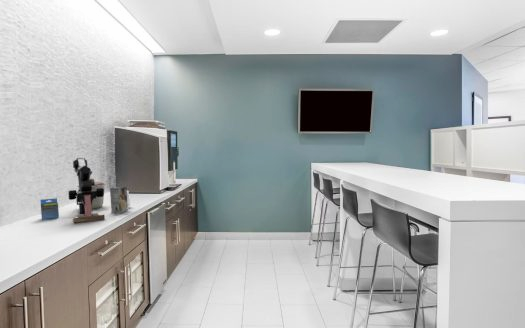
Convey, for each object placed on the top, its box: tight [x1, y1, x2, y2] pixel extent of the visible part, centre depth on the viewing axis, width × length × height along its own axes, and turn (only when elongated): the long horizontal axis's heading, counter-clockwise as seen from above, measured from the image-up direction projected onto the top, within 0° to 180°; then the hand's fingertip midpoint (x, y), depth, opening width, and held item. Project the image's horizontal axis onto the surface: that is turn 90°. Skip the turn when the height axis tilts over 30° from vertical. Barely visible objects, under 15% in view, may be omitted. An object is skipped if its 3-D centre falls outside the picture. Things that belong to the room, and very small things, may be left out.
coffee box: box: [109, 186, 129, 214], centre depth 223 cm, size 9×6×16 cm
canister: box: [77, 178, 106, 210], centre depth 241 cm, size 18×18×21 cm
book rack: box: [72, 212, 106, 225], centre depth 199 cm, size 11×16×3 cm
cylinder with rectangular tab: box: [127, 190, 131, 209], centre depth 238 cm, size 9×9×12 cm
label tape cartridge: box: [40, 198, 60, 220], centre depth 207 cm, size 9×4×12 cm, turn 115°
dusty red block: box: [84, 195, 93, 217], centre depth 199 cm, size 6×3×12 cm, turn 32°
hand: (88, 204), depth 197 cm, fingers closed on dusty red block, 3 cm apart
